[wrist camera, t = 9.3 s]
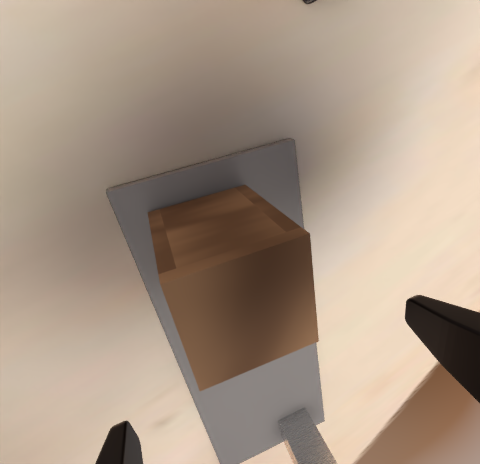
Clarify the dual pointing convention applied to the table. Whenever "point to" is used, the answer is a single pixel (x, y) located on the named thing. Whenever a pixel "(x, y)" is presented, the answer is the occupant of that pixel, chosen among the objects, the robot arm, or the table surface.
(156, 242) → the walnut sleeve
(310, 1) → the small box
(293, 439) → the grey post
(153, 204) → the slate board
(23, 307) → the table surface
